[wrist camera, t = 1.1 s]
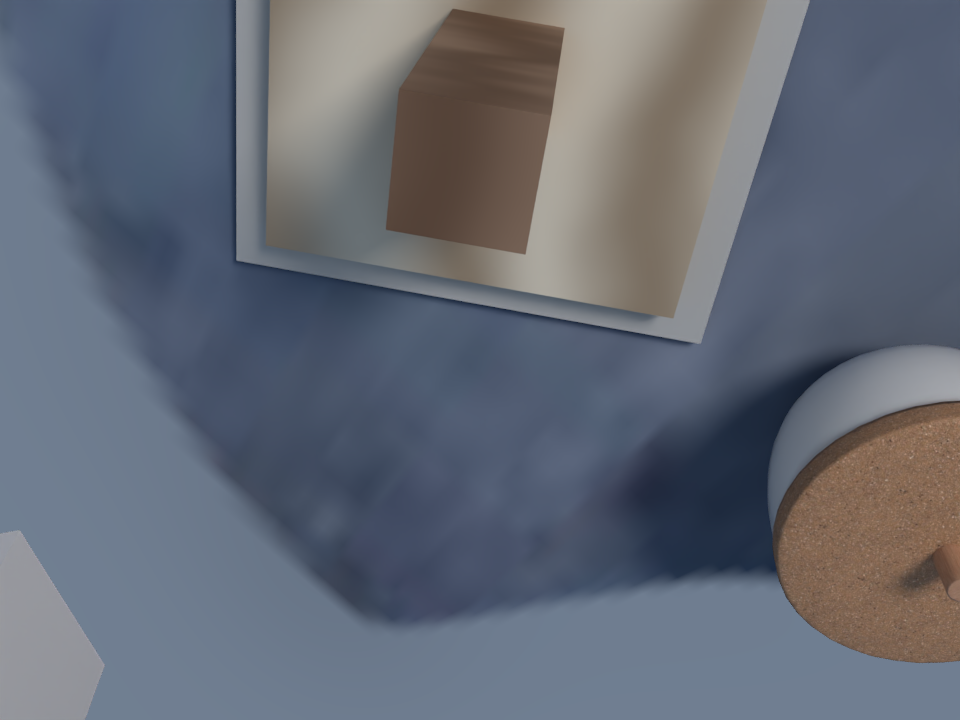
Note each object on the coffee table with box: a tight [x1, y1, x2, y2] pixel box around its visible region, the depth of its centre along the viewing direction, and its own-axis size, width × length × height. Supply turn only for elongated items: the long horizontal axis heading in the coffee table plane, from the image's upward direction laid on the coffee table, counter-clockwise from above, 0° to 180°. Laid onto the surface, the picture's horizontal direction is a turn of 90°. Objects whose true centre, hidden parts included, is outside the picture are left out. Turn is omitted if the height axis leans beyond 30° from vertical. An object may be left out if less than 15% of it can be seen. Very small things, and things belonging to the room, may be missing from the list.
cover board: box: [266, 0, 767, 318], centre depth 26 cm, size 15×15×10 cm
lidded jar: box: [768, 344, 960, 663], centre depth 32 cm, size 11×11×9 cm
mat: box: [236, 0, 810, 344], centre depth 31 cm, size 18×18×1 cm
